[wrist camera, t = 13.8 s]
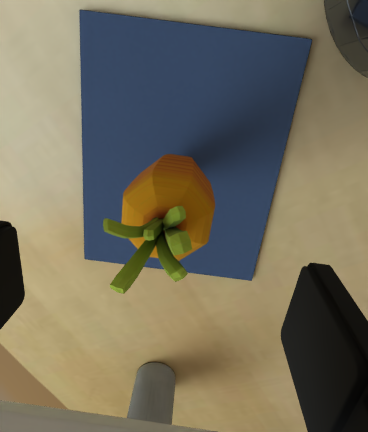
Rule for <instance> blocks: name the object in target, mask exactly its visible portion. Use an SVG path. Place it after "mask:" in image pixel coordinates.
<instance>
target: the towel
mask: <svg viewBox="0 0 368 432" xmlns="http://www.w3.org/2000/svg"><path fill="white" fill-rule="evenodd" d="M311 43H312V39H308V38H300V37H292V36H284V35H276V34H269V33H261V32H253V31H245V30H237V29H229V28H221V27H213V26H205V25H197V24H189V23H182V22H174V21H166V20H158V19H150V18H142V17H134V16H126V15H118V14H110V13H102V12H95V11H87V10H80V57H81V106H82V155H83V204H84V253H85V259H88V260H96V261H103V262H111V263H119V264H126V263H127V262H128V261H129V260H130V258H131V257H132V256H133V255H134V253H135V252H136V251H137V250H138V249H137V248H136V247H135V245H134V244H133V243H132V242H131V241H130V240H129V239H128V238H121V237H118V236H114V235H111V234H109V233H107V232H105V231H104V228H103V220H104V219H105V218H108V219H111V220H114V221H117V222H119V223H121V221H122V205H123V193H124V191H125V189H126V188H127V187H128V186H129V185H130V184H131V182H132V181H133V180H134V179H135V178H136V177H137V176H138V175H139V174H140V173H141V172H142V171H144V170H145V169H146V168H148V167H149V166H150V165H152V164H153V163H154V162H156V161H157V160H158V159H159V158H161V157H162V156H163V155H166V154H175V155H182V156H188V157H192V158H193V160H194V161H195V163H196V164H197V165H198V167H199V168H200V169H201V171H202V172H203V173H204V175H205V176H206V177H207V179H208V180H209V182H210V183H211V186H212V190H213V194H214V199H215V210H214V215H213V220H212V225H211V230H210V236H209V241H208V242H207V244H205V245H204V246H202V247H201V248H199V249H197V250H196V251H194V252H192V253H191V254H189V255H188V256H186V257H184V258H183V259H181V260H180V261H179V262H180V263H181V265H182V266H183V267H184V268H185V270H186V271H187V272H188V273H196V274H204V275H211V276H219V277H227V278H235V279H242V280H250V281H252V278H253V274H254V270H255V266H256V262H257V258H258V254H259V250H260V246H261V242H262V238H263V234H264V230H265V226H266V222H267V218H268V214H269V210H270V206H271V202H272V198H273V194H274V190H275V186H276V182H277V178H278V174H279V170H280V166H281V162H282V158H283V154H284V150H285V146H286V142H287V138H288V134H289V131H290V127H291V123H292V119H293V115H294V111H295V107H296V103H297V99H298V95H299V91H300V87H301V83H302V79H303V75H304V71H305V67H306V63H307V59H308V55H309V51H310V47H311ZM144 267H150V268H157V269H164V268H163V266H162V265H161V263H160V261H159V258H153V257H149V258H148V260H147V262H146V263H145V265H144Z"/></svg>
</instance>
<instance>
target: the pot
mask: <svg viewBox="0 0 368 432" xmlns="http://www.w3.org/2000/svg"><path fill="white" fill-rule="evenodd" d="M324 6H325V13H326V19H327V22H328V26H329V29H330V33H331V35H332V37H333V40H334V42H335V44H336V46H337V48H338V49H339V51H340V52H341V54H342V56H343V57H344V58H345V59H346V61H347V62H348V63H349V64H350V65H351V66H352V67H353V68H354V69H355V70H356V71H358V72H359V73H360V74H361V75H363V76H365V77H366V78H368V0H324Z"/></svg>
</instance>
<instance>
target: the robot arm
mask: <svg viewBox="0 0 368 432" xmlns="http://www.w3.org/2000/svg"><path fill="white" fill-rule="evenodd" d="M24 296H25V291H24V284H23V276H22V268H21V261H20V253H19V245H18V238H17V231H16V229H15V228H14V227H12V225H11V223H9V222H6V221H0V329H1V328H2V327H3V326H4V324H5V323H6V322H7V321H8V320H9V318H10V317H11V316H12V315H13V314H14V312H15V311H16V310H17V309H18V308H19V306H20V305H21V304H22V302H23V300H24ZM281 340H282V344H283V347H284V351H285V354H286V358H287V361H288V365H289V368H290V372H291V375H292V379H293V382H294V385H295V389H296V392H297V396H298V399H299V403H300V406H301V410H302V413H303V417H304V420H305V423H306V427H307V430H308V432H368V321H367V319H366V318H365V316H364V315H363V313H362V312H361V310H360V309H359V308H358V306H357V305H356V303H355V302H354V300H353V299H352V297H351V296H350V294H349V293H348V291H347V290H346V288H345V287H344V285H343V284H342V282H341V281H340V279H339V278H338V276H337V275H336V273H335V272H334V270H333V269H332V267H331V266H330V265H325V264H317V263H309V265H308V266H307V267H306V266H304V267H303V268H302V269H301V272H300V275H299V278H298V281H297V284H296V287H295V290H294V293H293V296H292V299H291V302H290V305H289V308H288V311H287V314H286V317H285V320H284V323H283V326H282V329H281ZM0 432H216V431H210V430H203V429H196V428H190V427H183V426H176V425H170V424H163V423H156V422H149V421H142V420H135V419H129V418H122V417H115V416H108V415H101V414H94V413H87V412H80V411H73V410H66V409H59V408H51V407H45V406H37V405H31V404H24V403H16V402H9V401H2V400H0Z"/></svg>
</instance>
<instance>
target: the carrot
mask: <svg viewBox="0 0 368 432" xmlns="http://www.w3.org/2000/svg"><path fill="white" fill-rule="evenodd" d="M214 210H215V199H214V194H213V190H212V186H211V183H210V182H209V180H208V179H207V177H206V176H205V175H204V173H203V172H202V171H201V169H200V168H199V167H198V165H197V164H196V163H195V161H194V160H193V158H192V157H188V156H182V155H175V154H166V155H163V156H162V157H161V158H159V159H158V160H157V161H156V162H154V163H153V164H152V165H150V166H149V167H148V168H146V169H145V170H144V171H142V172H141V173H140V174H139V175H138V176H137V177H136V178H135V179H134V180H133V181H132V182H131V184H130V185H129V186H128V187H127V188H126V189H125V191H124V193H123V205H122V221H121V223H119V222H117V221H114V220H111V219H108V218H105V219H104V220H103V228H104V231H105V232H107V233H109V234H111V235H114V236H118V237H121V238H128V239H129V240H130V241H131V242H132V243H133V244H134V245H135V247H136V248H137V249H138V250H137V251H136V252H135V253H134V255H133V256H132V257H131V258H130V260H129V261H128V262H127V263H126V265H125V266H124V267H123V268H122V269H121V271H120V272H119V273H118V274H117V275H116V277H115V278H114V280H113V281H112V283H111V284H110V288H111V289H113V290H114V291H116V292H118V293H123V294H124V293H125V292H126V291H127V290H128V289H129V288H130V286H131V285H132V284H133V282H134V281H135V279H136V278H137V277H138V275H139V273H140V272H141V270H142V268H143V267H144V265H145V263H146V262H147V260H148V258H149V257H153V258H159V261H160V263H161V265H162V266H163V268H164V270H165V271H166V273H167V274H168V275H169V276H170V277H171V278H172V279H173V280H174V281H175V282H177V281H179V280H181V279H183V278H184V277H185V276H186V275H187V274H188V273H187V271H186V270H185V268H184V267H183V266H182V265H181V263H180V262H179V261H180V260H181V259H183V258H184V257H186V256H188V255H189V254H191V253H192V252H194V251H196V250H197V249H199V248H201V247H202V246H204V245H205V244H207V242H208V241H209V236H210V230H211V225H212V220H213V215H214Z"/></svg>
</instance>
